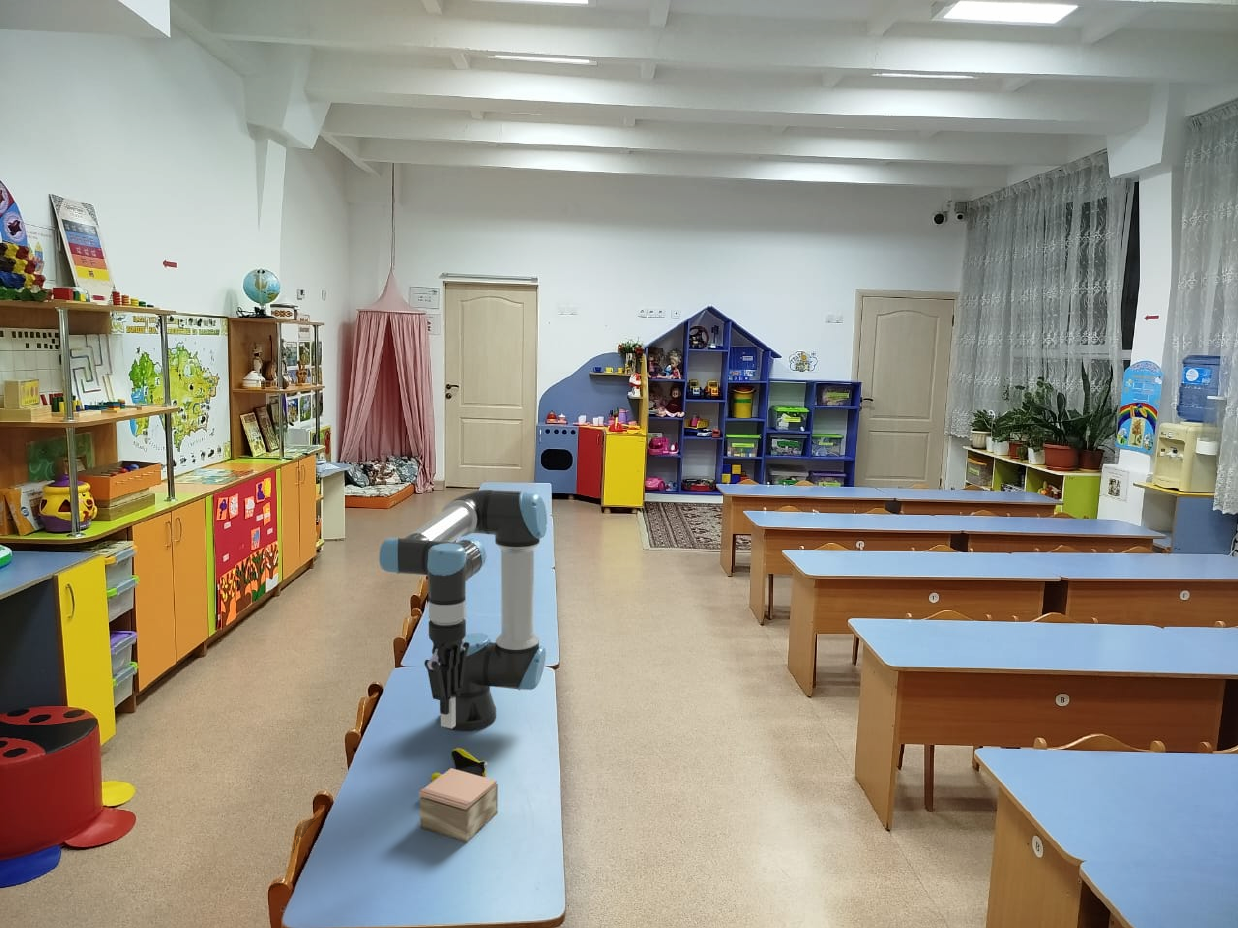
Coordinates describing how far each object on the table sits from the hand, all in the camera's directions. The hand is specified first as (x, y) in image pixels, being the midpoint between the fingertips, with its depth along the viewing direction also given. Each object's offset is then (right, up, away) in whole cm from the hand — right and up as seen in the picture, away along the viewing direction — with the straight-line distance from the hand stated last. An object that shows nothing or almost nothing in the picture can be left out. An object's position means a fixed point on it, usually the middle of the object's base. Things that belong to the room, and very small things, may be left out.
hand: (448, 725), depth 175 cm
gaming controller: (-1, -21, +22) cm, 30 cm away
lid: (+1, -16, +6) cm, 17 cm away
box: (+1, -23, +8) cm, 24 cm away
